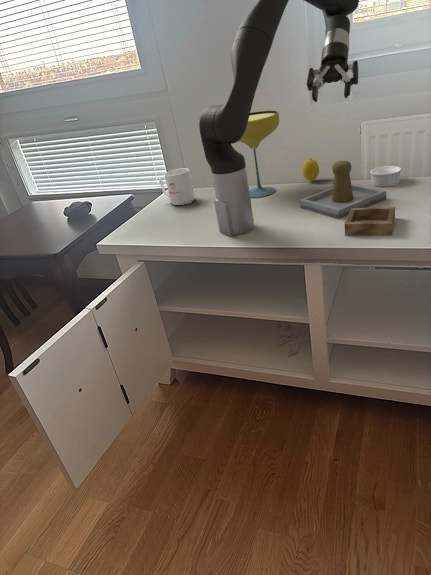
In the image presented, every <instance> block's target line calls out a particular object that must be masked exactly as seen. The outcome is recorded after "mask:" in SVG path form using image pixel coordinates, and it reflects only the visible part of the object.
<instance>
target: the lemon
mask: <svg viewBox="0 0 431 575" xmlns="http://www.w3.org/2000/svg"><path fill="white" fill-rule="evenodd" d="M319 173H320V167H319V164H318V162H317V161H316V160H314V159H313V158H308V159H307V160H306V161H305V162H304V163H303V166H302V175H303V177H304V178H305V179H306V180H308V181H310V182H314V180H315V179H317V178H318V176H319Z"/></svg>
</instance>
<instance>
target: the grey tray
mask: <svg viewBox="0 0 431 575" xmlns="http://www.w3.org/2000/svg"><path fill="white" fill-rule="evenodd" d="M351 186H352V192H353V198H354V199H353V200H352V201H350V202H346V203H335V202H333V201H332V196H333V186H332V187H330V188H327V189H325V190H322V191H319V192H316V193H314V194H311V195H309V196H305V197H303V198H301V199H299V206H300V209H304V210H306V209H307V211H309V210H310V211H309V212H313V213H316V214H320V215H323V216H327V217H330V218H334V219H336V220H341V219H343V218H345V217H346V218H347V217H348V214H349V212H350V209H351V208H370V207H372V206H374V205H377V204H378V203H379V204H380V203H381V202H383V201H385V200H387V190H384V189H379V188H374V187H369V186H364V185H360V184H354V183H351Z"/></svg>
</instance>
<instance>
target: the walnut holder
mask: <svg viewBox="0 0 431 575" xmlns="http://www.w3.org/2000/svg"><path fill="white" fill-rule="evenodd" d="M395 219H396V206H381V207H378V206H377V207H376V206H375V207H374V206H373V207H367V208H351V209H350V212H349V214H348V216H346V219H345V222H344V236H393V232H394V227H395V226H394V225H395Z"/></svg>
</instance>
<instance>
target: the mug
mask: <svg viewBox="0 0 431 575" xmlns="http://www.w3.org/2000/svg"><path fill="white" fill-rule="evenodd" d="M190 172H191V171H190V169H189V168H186V167H185V168H183V167H181V168H176V169H171V170H169V171H167V172H165V173H164V174H163V176H161V177H159V178H158V180H159V184H160V188H161V190H162V191H161V192H162V193H163V194H164V195H165V196H167V197H168V198H169V201H170V203H171V204H172V205H174V206H175V205H183V206H185V205H184V204H187V205H189V204H188V203H190V202H192V201H193V202H194V200H195V196H196V195H195V191H194V187H193V182H192V177H191V176H192V175H191V173H190ZM163 179H165V184H166V187H167V191H168V192H167V191H166V188H165V185H164V181H163ZM193 202H192V203H193ZM190 204H191V203H190Z"/></svg>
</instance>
